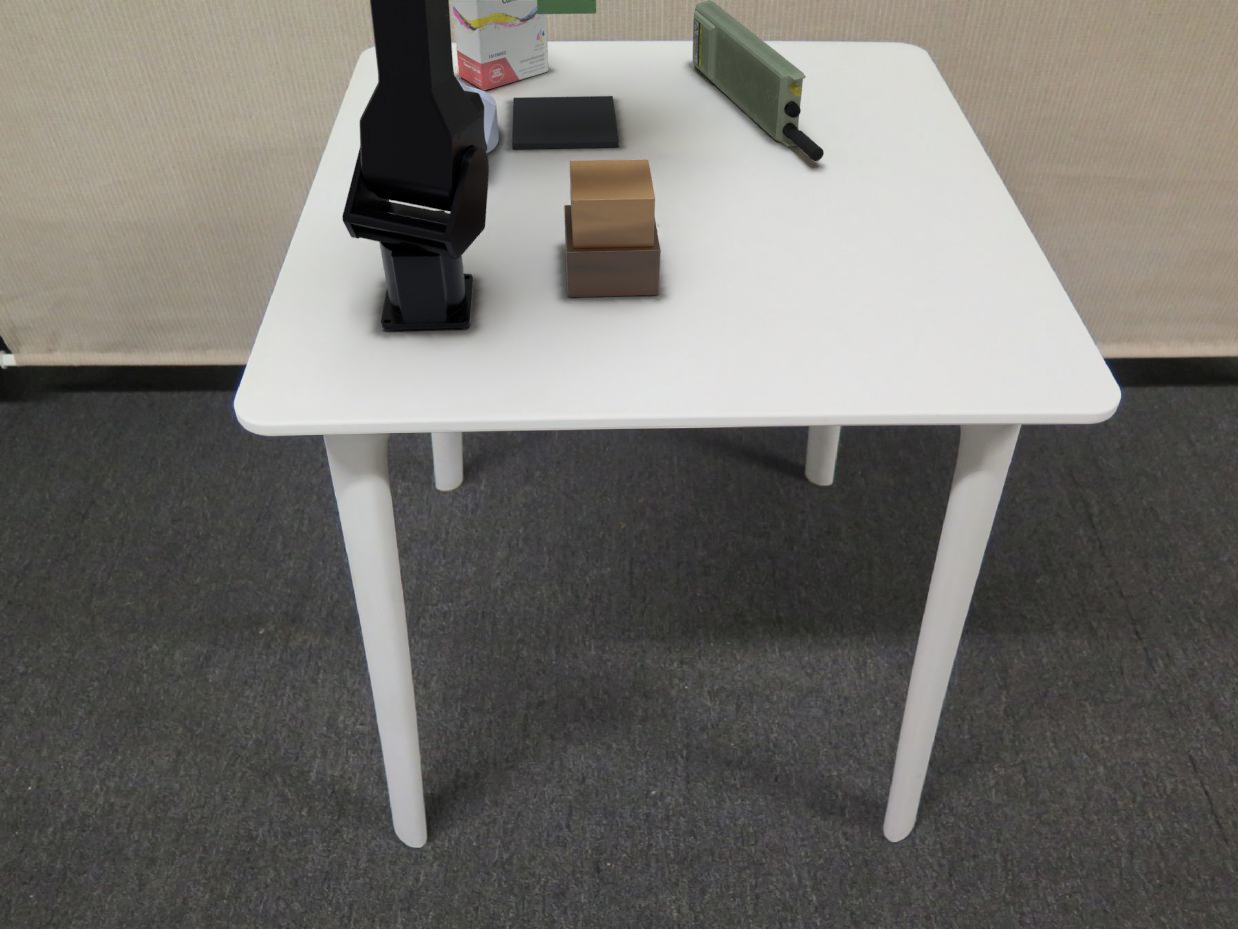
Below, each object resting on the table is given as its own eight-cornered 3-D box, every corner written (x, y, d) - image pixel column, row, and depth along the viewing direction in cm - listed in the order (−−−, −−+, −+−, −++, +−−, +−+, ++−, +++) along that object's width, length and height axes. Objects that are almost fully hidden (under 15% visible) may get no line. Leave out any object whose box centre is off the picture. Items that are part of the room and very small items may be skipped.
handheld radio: (716, 61, 110) (833, 164, 93) (688, 67, 109) (801, 172, 93) (718, -2, 105) (842, 94, 89) (689, 3, 105) (809, 101, 88)
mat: (618, 147, 96) (618, 141, 95) (512, 149, 95) (512, 143, 95) (612, 101, 103) (612, 95, 102) (513, 102, 102) (513, 97, 102)
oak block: (653, 246, 76) (655, 198, 73) (573, 248, 75) (571, 200, 72) (646, 205, 80) (648, 158, 77) (570, 207, 80) (569, 160, 77)
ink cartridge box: (484, 92, 104) (471, -63, 94) (457, 77, 107) (442, -76, 96) (551, 71, 108) (546, -80, 98) (524, 56, 111) (516, -92, 100)
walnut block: (658, 295, 78) (660, 250, 75) (567, 297, 78) (566, 252, 75) (650, 246, 83) (652, 202, 80) (565, 248, 83) (564, 204, 80)
